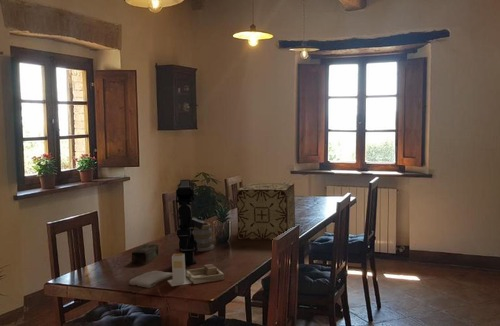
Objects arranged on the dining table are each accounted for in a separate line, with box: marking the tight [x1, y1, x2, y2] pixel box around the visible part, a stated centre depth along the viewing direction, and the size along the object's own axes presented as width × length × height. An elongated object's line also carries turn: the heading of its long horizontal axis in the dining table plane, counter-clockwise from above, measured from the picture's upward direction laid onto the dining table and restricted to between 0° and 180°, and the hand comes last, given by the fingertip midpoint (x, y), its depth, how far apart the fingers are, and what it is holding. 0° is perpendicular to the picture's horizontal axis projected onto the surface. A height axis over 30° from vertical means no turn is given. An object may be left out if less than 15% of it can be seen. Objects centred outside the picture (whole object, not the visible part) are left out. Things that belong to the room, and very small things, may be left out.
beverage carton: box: [131, 243, 159, 265], centre depth 267 cm, size 8×19×7 cm, turn 170°
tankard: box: [192, 222, 215, 253], centre depth 289 cm, size 20×13×15 cm, turn 32°
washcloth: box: [129, 270, 173, 289], centre depth 231 cm, size 12×18×3 cm, turn 151°
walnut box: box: [203, 263, 218, 276], centre depth 235 cm, size 7×4×4 cm, turn 22°
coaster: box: [166, 277, 192, 287], centre depth 226 cm, size 9×9×1 cm
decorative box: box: [236, 182, 296, 241], centre depth 317 cm, size 30×30×30 cm
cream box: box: [171, 253, 187, 284], centre depth 226 cm, size 5×5×12 cm
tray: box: [185, 267, 225, 285], centre depth 231 cm, size 14×14×3 cm
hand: (186, 246), depth 239 cm, fingers open, 9 cm apart
